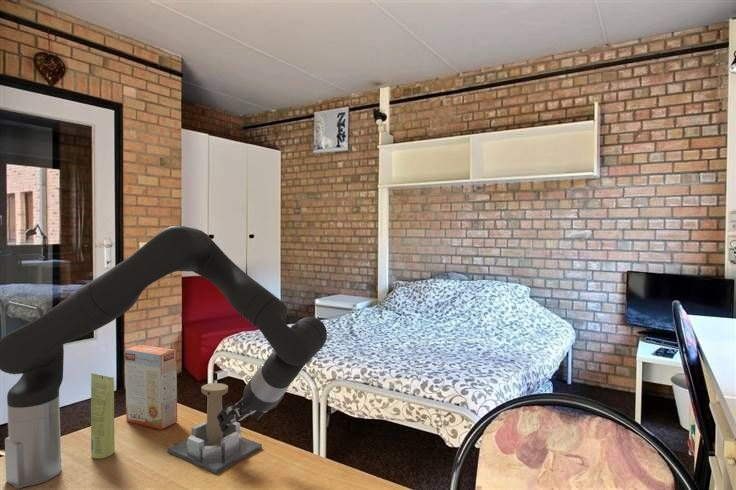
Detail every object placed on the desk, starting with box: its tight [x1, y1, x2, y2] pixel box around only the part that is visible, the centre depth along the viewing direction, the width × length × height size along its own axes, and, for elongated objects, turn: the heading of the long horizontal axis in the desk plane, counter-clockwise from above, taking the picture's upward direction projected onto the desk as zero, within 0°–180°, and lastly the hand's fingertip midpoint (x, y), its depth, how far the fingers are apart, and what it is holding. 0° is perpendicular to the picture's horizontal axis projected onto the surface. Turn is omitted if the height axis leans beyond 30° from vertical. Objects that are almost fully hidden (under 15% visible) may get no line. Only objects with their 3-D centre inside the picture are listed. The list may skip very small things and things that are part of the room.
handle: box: [201, 382, 229, 446], centre depth 112 cm, size 5×6×15 cm
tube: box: [90, 372, 116, 459], centre depth 110 cm, size 6×5×20 cm
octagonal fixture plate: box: [166, 420, 263, 475], centre depth 113 cm, size 14×18×5 cm
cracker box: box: [124, 344, 178, 431], centre depth 128 cm, size 14×6×21 cm, turn 65°
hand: (239, 422), depth 105 cm, fingers open, 8 cm apart
